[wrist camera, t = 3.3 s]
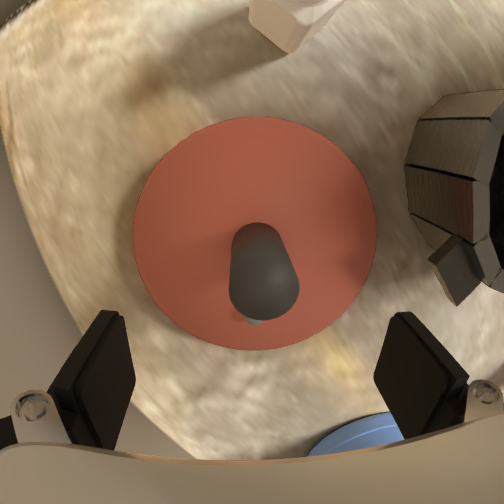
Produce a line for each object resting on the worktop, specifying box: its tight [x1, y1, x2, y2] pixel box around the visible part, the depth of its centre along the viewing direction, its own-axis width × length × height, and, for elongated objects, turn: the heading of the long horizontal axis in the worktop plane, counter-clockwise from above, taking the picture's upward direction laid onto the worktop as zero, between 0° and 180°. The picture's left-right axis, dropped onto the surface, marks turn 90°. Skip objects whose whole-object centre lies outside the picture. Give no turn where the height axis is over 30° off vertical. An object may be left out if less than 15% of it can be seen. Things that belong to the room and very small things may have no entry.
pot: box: [405, 89, 504, 307], centre depth 17 cm, size 19×14×8 cm
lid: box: [133, 117, 377, 350], centre depth 18 cm, size 16×16×8 cm
